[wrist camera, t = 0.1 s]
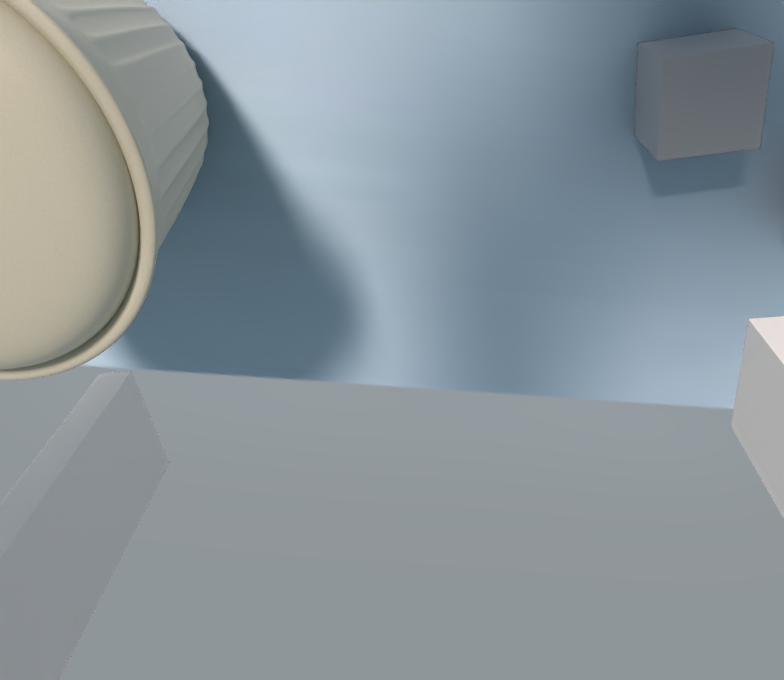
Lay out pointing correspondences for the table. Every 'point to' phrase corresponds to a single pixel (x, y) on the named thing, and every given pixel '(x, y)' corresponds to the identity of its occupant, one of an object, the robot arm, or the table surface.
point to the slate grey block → (702, 93)
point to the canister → (87, 172)
